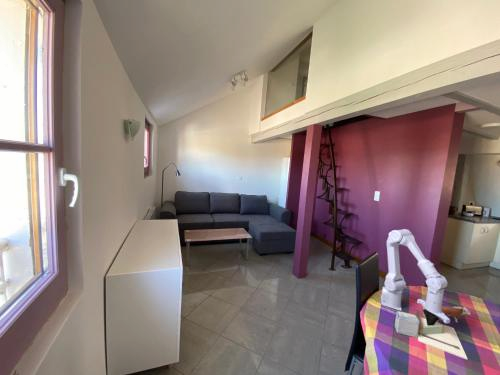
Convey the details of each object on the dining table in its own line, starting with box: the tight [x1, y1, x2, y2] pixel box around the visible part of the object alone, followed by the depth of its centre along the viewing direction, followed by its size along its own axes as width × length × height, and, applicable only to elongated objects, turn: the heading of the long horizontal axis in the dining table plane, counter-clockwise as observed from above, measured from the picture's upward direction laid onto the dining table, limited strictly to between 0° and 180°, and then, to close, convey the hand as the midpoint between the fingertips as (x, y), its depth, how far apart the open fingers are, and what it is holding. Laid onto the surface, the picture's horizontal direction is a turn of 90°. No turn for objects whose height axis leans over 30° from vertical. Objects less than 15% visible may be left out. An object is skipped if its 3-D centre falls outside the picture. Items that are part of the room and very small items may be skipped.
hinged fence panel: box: [418, 323, 445, 335], centre depth 99 cm, size 13×2×4 cm, turn 98°
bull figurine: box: [441, 305, 471, 324], centre depth 109 cm, size 4×13×8 cm, turn 78°
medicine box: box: [394, 310, 419, 339], centre depth 100 cm, size 8×4×9 cm, turn 71°
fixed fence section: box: [414, 310, 421, 325], centre depth 104 cm, size 1×12×4 cm, turn 148°
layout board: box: [417, 316, 468, 360], centre depth 99 cm, size 16×20×1 cm
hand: (430, 325), depth 103 cm, fingers closed
